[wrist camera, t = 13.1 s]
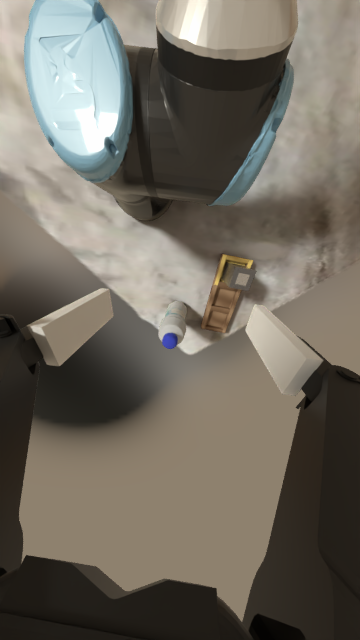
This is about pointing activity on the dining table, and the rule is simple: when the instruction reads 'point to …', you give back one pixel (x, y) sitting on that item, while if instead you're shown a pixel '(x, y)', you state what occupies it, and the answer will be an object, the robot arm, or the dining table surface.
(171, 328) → the bottle
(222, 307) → the wooden compartment tray
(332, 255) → the dining table surface
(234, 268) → the block
